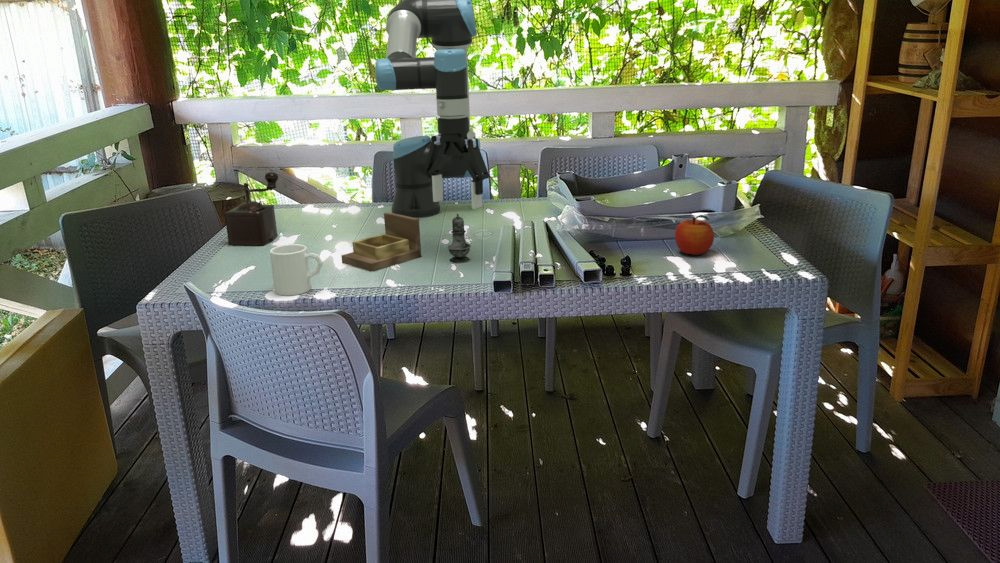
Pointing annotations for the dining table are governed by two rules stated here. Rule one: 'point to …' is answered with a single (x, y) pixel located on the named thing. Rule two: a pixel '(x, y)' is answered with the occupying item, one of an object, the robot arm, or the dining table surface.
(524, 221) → the dining table surface
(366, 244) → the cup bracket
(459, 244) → the salt shaker
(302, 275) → the mug
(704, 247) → the fruit
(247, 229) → the manual coffee grinder
